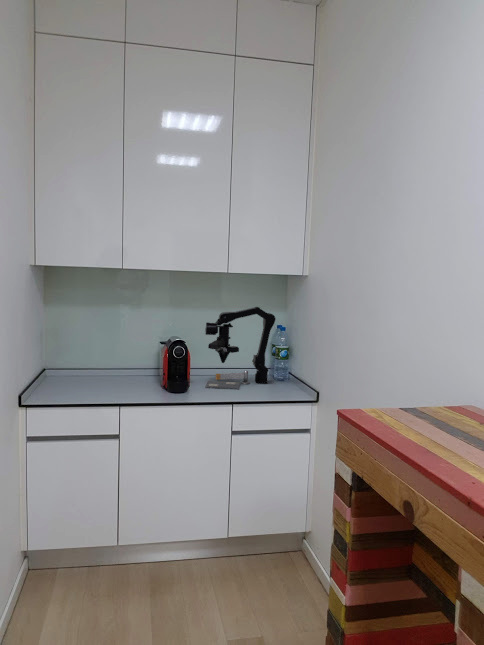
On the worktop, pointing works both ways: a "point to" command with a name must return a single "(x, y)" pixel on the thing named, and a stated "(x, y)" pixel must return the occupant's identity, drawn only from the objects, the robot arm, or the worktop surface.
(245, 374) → the swing arm
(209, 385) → the board
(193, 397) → the worktop surface
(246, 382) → the base
